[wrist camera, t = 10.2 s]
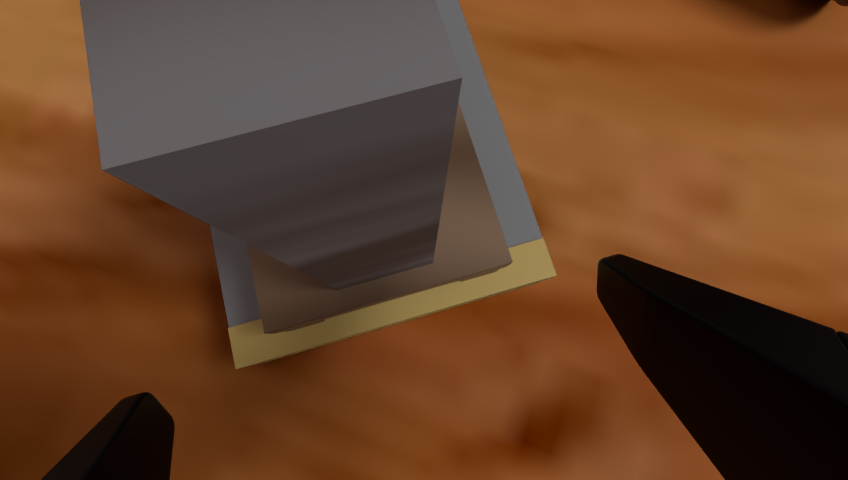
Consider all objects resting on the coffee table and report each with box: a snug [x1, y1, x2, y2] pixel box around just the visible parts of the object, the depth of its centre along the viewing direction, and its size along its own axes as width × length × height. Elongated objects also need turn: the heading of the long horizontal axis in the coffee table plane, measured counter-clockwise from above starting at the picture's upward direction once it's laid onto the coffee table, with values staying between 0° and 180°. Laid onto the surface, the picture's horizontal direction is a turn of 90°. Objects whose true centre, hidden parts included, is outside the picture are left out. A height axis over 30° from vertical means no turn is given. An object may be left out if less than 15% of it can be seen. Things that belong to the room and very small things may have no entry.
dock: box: [210, 0, 557, 369], centre depth 19 cm, size 14×13×3 cm
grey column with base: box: [80, 0, 513, 334], centre depth 11 cm, size 10×9×13 cm
